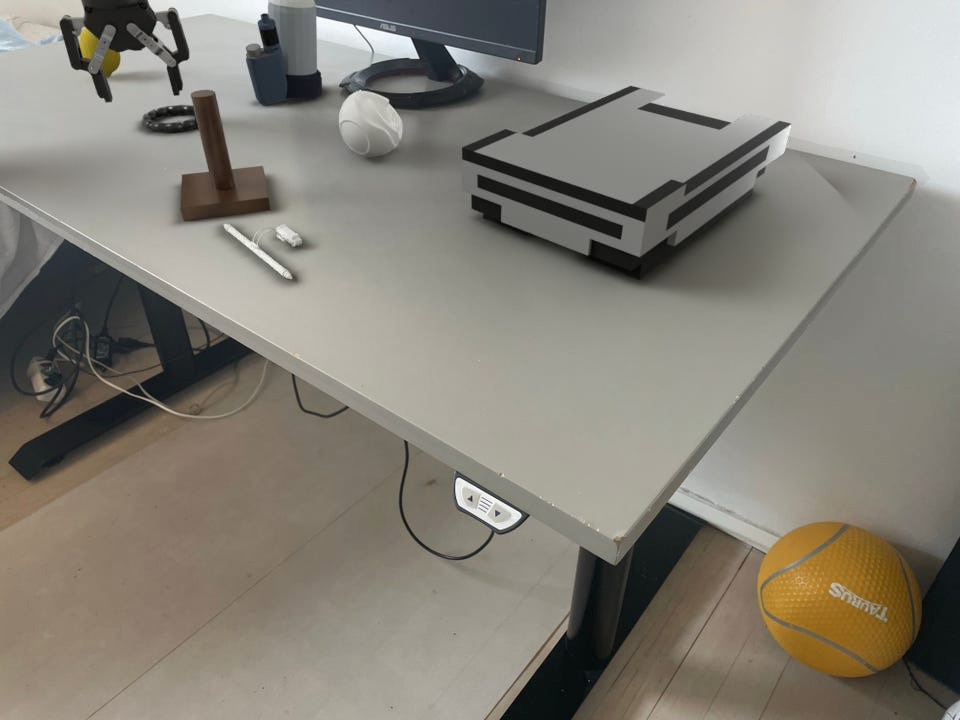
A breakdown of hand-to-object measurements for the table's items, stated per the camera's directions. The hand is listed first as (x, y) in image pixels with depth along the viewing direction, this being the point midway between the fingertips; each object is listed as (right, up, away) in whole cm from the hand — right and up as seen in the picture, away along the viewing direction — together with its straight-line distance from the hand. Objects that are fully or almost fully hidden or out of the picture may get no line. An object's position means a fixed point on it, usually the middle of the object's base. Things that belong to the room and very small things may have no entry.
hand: (143, 97), depth 96 cm
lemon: (-15, +10, +19) cm, 26 cm away
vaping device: (+15, +3, +10) cm, 18 cm away
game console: (+62, -18, -16) cm, 66 cm away
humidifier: (+17, +5, +13) cm, 22 cm away
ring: (+3, -2, +3) cm, 5 cm away
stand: (+17, -17, -16) cm, 29 cm away
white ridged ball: (+32, -9, -6) cm, 34 cm away
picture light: (+25, -24, -25) cm, 43 cm away
